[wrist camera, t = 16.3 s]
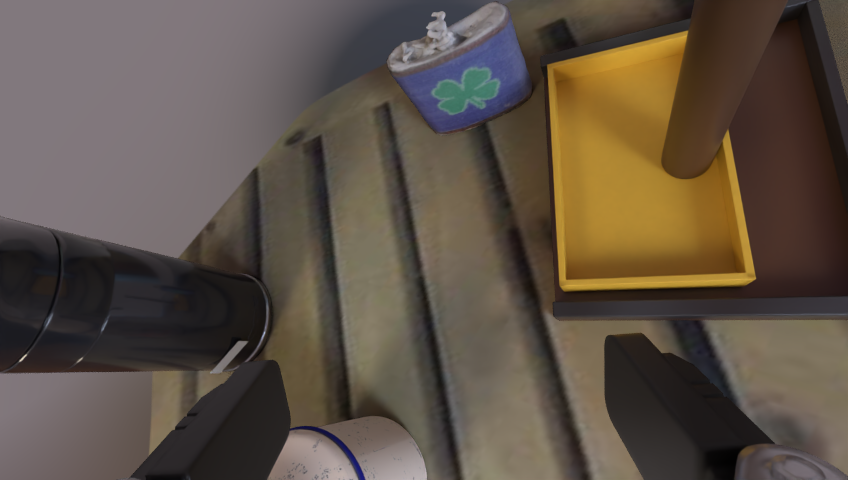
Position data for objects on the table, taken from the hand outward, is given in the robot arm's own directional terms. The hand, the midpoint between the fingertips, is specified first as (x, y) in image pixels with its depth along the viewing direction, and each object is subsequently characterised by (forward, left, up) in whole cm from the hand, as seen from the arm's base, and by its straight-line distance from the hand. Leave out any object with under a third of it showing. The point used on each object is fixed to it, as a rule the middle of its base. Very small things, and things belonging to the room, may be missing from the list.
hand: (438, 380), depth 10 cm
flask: (-5, +21, -21) cm, 30 cm away
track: (+9, +13, -21) cm, 26 cm away
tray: (+6, +13, -19) cm, 24 cm away
